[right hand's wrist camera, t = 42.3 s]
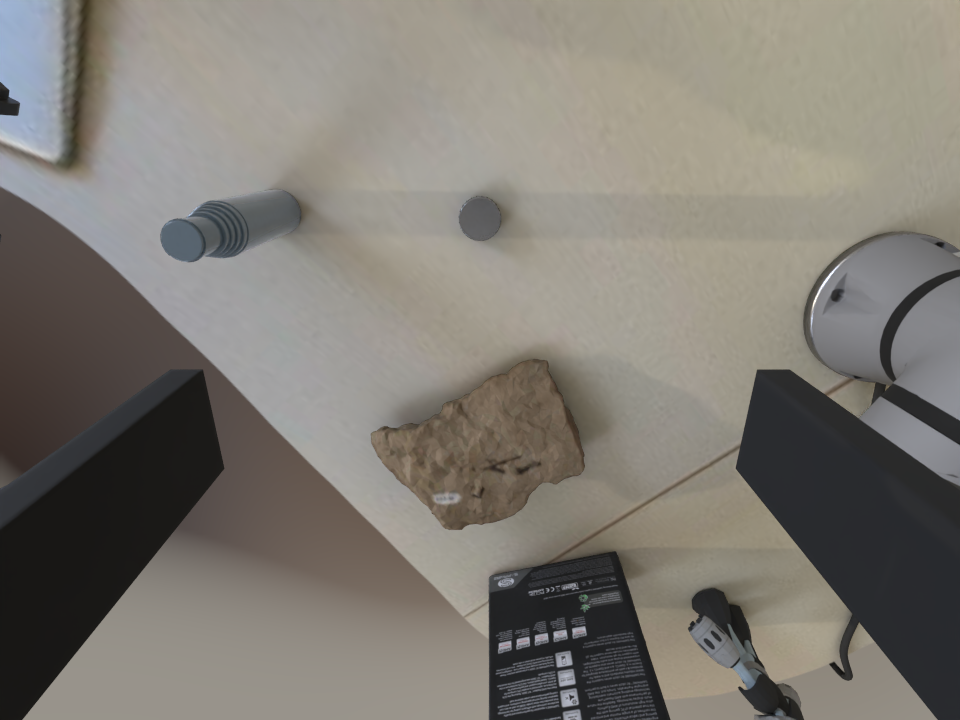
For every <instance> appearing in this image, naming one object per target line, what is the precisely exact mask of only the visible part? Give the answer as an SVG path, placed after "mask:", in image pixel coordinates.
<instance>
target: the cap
mask: <svg viewBox="0 0 960 720" xmlns="http://www.w3.org/2000/svg"><path fill="white" fill-rule="evenodd" d="M500 216H501V214H500V212H499V208H498V207H497V205H496V204H495V203H494V202H493V201H492V200H490V199H489V198H488V197H487V198H486V197H482V196H478V197H477V196H476V197H474V198H471V199H469V200H468V201H466V203H465V204H464V205H463V206H462V209H461V210H460V215H459V223H460V227H461V229H462V231H463V233H464V234H465V235H466V236H467V237H469V238H471V239H473V240H477V241H483V240H487V239H489V238H491V237H492V236H494V235H495V233H496V232H497V231H498V229H499V227H500V222H501V217H500Z"/></svg>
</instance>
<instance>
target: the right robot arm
mask: <svg viewBox="0 0 960 720" xmlns="http://www.w3.org/2000/svg"><path fill="white" fill-rule="evenodd" d="M804 334H805V338H806V341H807V344H808V346H809V348H810V350H811V352H812V353H813V354H814V356H815V357H816V358H817V359H818V360H819V361H820V362H821V363H823V364H824V365H826V366H827V367H829V368H830V369H832V370H833V371H835V372H837V373H839V374H841V375H843V376H846V377H849V378H852V379H855V380H860V381H866V382H876V384H875V389H874V394H873V399H872V403H871V406H870V407H869V408H868V409H867V410H866V411H865V412H864V413H863V414H862V415H861V416H860V417H859V418H857V417H856V416H854V415H853V414H851V413H850V412H849V411H847V410H846V409H844V408H843V407H842V406H840V405H839V404H837V403H836V402H835V401H833V400H832V399H830V398H829V397H827V396H826V395H825V394H823V393H822V392H820V391H819V390H818V389H816V388H815V387H813V386H812V385H810V384H809V383H808V382H806V381H805V380H803V379H802V378H801V377H799V376H798V375H796V374H795V373H794V372H792V371H791V370H757V373H756V377H755V382H754V387H753V391H752V396H751V400H750V405H749V410H748V414H747V419H746V423H745V428H744V433H743V437H742V442H741V446H740V451H739V456H738V460H737V465H736V470H737V471H738V472H739V473H740V474H741V476H742V477H743V478H744V479H745V481H746V482H747V483H748V484H749V486H750V487H751V488H752V489H753V491H754V492H755V493H756V494H757V496H758V497H759V498H760V499H761V501H762V502H763V503H764V504H765V506H766V507H767V508H768V509H769V511H770V512H771V513H772V514H773V516H774V517H775V518H776V519H777V520H778V522H779V523H780V524H781V525H782V527H783V528H784V529H785V530H786V532H787V533H788V534H789V535H790V537H791V538H792V539H793V540H794V542H795V543H796V544H797V545H798V547H799V548H800V549H801V550H802V552H803V553H804V554H805V555H806V557H807V558H808V559H809V560H810V562H811V563H812V564H813V565H814V566H815V568H816V569H817V570H818V571H819V573H820V574H821V575H822V576H823V578H824V579H825V580H826V581H827V583H828V584H829V585H830V586H831V588H832V589H833V590H834V591H835V593H836V594H837V595H838V596H839V598H840V599H841V600H842V601H843V603H844V604H845V605H846V606H847V608H848V609H849V610H850V611H851V612H852V614H853V615H852V617H851V620H850V622H849V624H848V626H847V628H846V630H845V633H844V635H843V638H842V641H841V645H840V658H841V662H842V665H843V668H844V671H845V672H844V671H842V670H841V669H840V668H839V666H838V665H837V664H836V663H835V662H832V663H830V664H829V665H830V666H831V667H832V669H833V670H834V671H835V672H836V673H837V674H838V675H839V676H840V677H841V678H843V679H844V680H848V681H849V680H851V679H852V678H853V674H852V671H851V667H850V664H849V661H848V647H849V643H850V641H851V638H852V636H853V634H854V631H855V629H856V627H857V625H858V623H859V622H860V624H861V625H862V626H863V627H864V629H865V630H866V631H867V632H868V634H869V635H870V636H871V637H872V639H873V640H874V641H875V642H876V644H877V645H878V646H879V647H880V649H881V650H882V651H883V652H884V654H885V655H886V656H887V657H888V658H889V660H890V661H891V662H892V663H893V665H894V666H895V667H896V668H897V670H898V671H899V672H900V673H901V675H902V676H903V677H904V678H905V680H906V681H907V682H908V683H909V685H910V686H911V687H912V688H913V690H914V691H915V692H916V693H917V695H918V696H919V697H920V698H921V699H922V701H923V702H924V703H925V704H926V706H927V707H928V708H929V709H930V711H931V712H932V713H933V714H934V716H935V717H936V718H937V719H938V720H960V250H958V249H957V248H955V247H954V246H953V245H951V244H949V243H947V242H945V241H943V240H941V239H938V238H936V237H933V236H929V235H925V234H919V233H914V232H890V233H884V234H880V235H877V236H874V237H871V238H868V239H866V240H864V241H861V242H859V243H858V244H856V245H854V246H852V247H851V248H849V249H848V250H846V251H845V252H843V253H842V254H841V255H840V256H838V257H837V258H836V259H835V260H834V261H833V262H832V263H831V264H830V265H829V266H828V267H827V268H826V269H825V271H824V272H823V273H822V274H821V276H820V277H819V278H818V280H817V282H816V283H815V285H814V287H813V289H812V291H811V293H810V295H809V298H808V300H807V304H806V307H805V312H804ZM886 385H891V386H890V387H889V388H888V389H887V390H886V391H885V388H886ZM223 470H224V465H223V460H222V456H221V451H220V446H219V442H218V437H217V433H216V428H215V423H214V419H213V414H212V410H211V405H210V400H209V396H208V391H207V387H206V382H205V377H204V373H203V370H169V371H168V372H166V373H165V374H164V375H162V376H161V377H159V378H158V379H157V380H155V381H154V382H152V383H151V384H150V385H148V386H147V387H145V388H144V389H142V390H141V391H140V392H138V393H137V394H135V395H134V396H133V397H131V398H130V399H128V400H127V401H125V402H124V403H123V404H121V405H120V406H118V407H117V408H116V409H114V410H113V411H111V412H110V413H109V414H107V415H106V416H104V417H103V418H101V419H100V420H99V421H97V422H96V423H94V424H93V425H92V426H90V427H89V428H87V429H86V430H84V431H83V432H82V433H80V434H79V435H77V436H76V437H75V438H73V439H72V440H70V441H69V442H68V443H66V444H65V445H63V446H62V447H60V448H59V449H58V450H56V451H55V452H53V453H52V454H51V455H49V456H48V457H46V458H45V459H44V460H42V461H41V462H39V463H38V464H36V465H35V466H34V467H32V468H31V469H29V470H28V471H27V472H25V473H24V474H22V475H21V476H20V477H18V478H17V479H15V480H14V481H12V482H11V483H10V484H8V485H6V486H4V487H2V488H0V720H22V719H23V718H24V717H25V716H26V714H27V713H28V712H29V711H30V709H31V708H32V707H33V706H34V704H35V703H36V702H37V701H38V700H39V698H40V697H41V696H42V695H43V693H44V692H45V691H46V690H47V688H48V687H49V686H50V685H51V683H52V682H53V681H54V680H55V678H56V677H57V676H58V675H59V673H60V672H61V671H62V670H63V668H64V667H65V666H66V665H67V663H68V662H69V661H70V660H71V658H72V657H73V656H74V655H75V653H76V652H77V651H78V650H79V648H80V647H81V646H82V645H83V644H84V642H85V641H86V640H87V639H88V637H89V636H90V635H91V634H92V632H93V631H94V630H95V629H96V627H97V626H98V625H99V624H100V622H101V621H102V620H103V619H104V617H105V616H106V615H107V614H108V612H109V611H110V610H111V609H112V608H113V606H114V605H115V604H116V603H117V601H118V600H119V599H120V598H121V596H122V595H123V594H124V593H125V591H126V590H127V589H128V588H129V586H130V585H131V584H132V583H133V581H134V580H135V579H136V578H137V576H138V575H139V574H140V573H141V571H142V570H143V569H144V568H145V566H146V565H147V564H148V563H149V561H150V560H151V559H152V558H153V557H154V555H155V554H156V553H157V551H158V550H159V549H160V548H161V547H162V545H163V544H164V543H165V542H166V540H167V539H168V538H169V537H170V535H171V534H172V533H173V532H174V530H175V529H176V528H177V527H178V525H179V524H180V523H181V522H182V520H183V519H184V518H185V517H186V516H187V514H188V513H189V512H190V511H191V509H192V508H193V507H194V505H195V504H196V503H197V502H198V501H199V499H200V498H201V497H202V496H203V494H204V493H205V492H206V490H207V489H208V488H209V487H210V486H211V484H212V483H213V482H214V481H215V479H216V478H217V477H218V476H219V474H220V473H221V472H222V471H223Z"/></svg>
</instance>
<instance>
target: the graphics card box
mask: <svg viewBox="0 0 960 720" xmlns="http://www.w3.org/2000/svg"><path fill="white" fill-rule="evenodd" d="M489 720H670V717H669V714H668V711H667V708H666V705H665V702H664V699H663V695H662V692H661V689H660V686H659V683H658V680H657V677H656V674H655V671H654V668H653V665H652V662H651V658H650V655H649V652H648V649H647V646H646V641H645V639H644V636H643V633H642V630H641V627H640V624H639V620H638V617H637V614H636V611H635V607H634V604H633V601H632V597H631V594H630V591H629V588H628V585H627V582H626V579H625V576H624V573H623V570H622V566H621V563H620V561H619V558H618V555H617V553H616V551H614V552H609V553H604V554H599V555H593V556H589V557H584V558H578V559H574V560H569V561H564V562H558V563H553V564H548V565H542V566H538V567H532V568H527V569H522V570H517V571H511V572H508V573H507V572H506V573H502V574H496V575H492V576H490V577H489Z"/></svg>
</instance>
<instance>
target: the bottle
mask: <svg viewBox="0 0 960 720" xmlns="http://www.w3.org/2000/svg"><path fill="white" fill-rule="evenodd" d="M300 218H301V211H300V207H299V205H298V203H297V201H296V200H295V198H294V197H293V196H292V195H291V194H289V193H288V192H286V191H283V190H280V189H271V190H266V191H261V192H255V193H250V194H244V195H239V196H234V197H228V198H223V199H218V200H212V201H208V202H205V203H203V204H201V205H200V206H198V207H197V208H196V209H195V210H194V211H193V212H192V213H191V214H190V215H189V216H187V217H186V218H184V219H178V218H177V219H173V220H171V221H169V222H167V223H166V224H165V225H164V227H163V228H162V231H161V243H162V246H163V248H164V250H165V251H166V253H167V254H168V255H169V256H172V257H173V258H175V259H177V260H179V261H183V262H194V261H197V260H199V259H200V258H202V257H204V256H206V257H215V258H228V257H234V256H236V255H239V254H241V253H243V252H246V251H248V250H250V249H252V248H255V247H257V246H259V245H262V244H264V243H266V242H269V241H271V240H273V239H276V238H278V237H280V236H283V235H285V234H287V233H290V232H292V231H293V230H294V229H296V227H297V226H298V224H299V222H300Z"/></svg>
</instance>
